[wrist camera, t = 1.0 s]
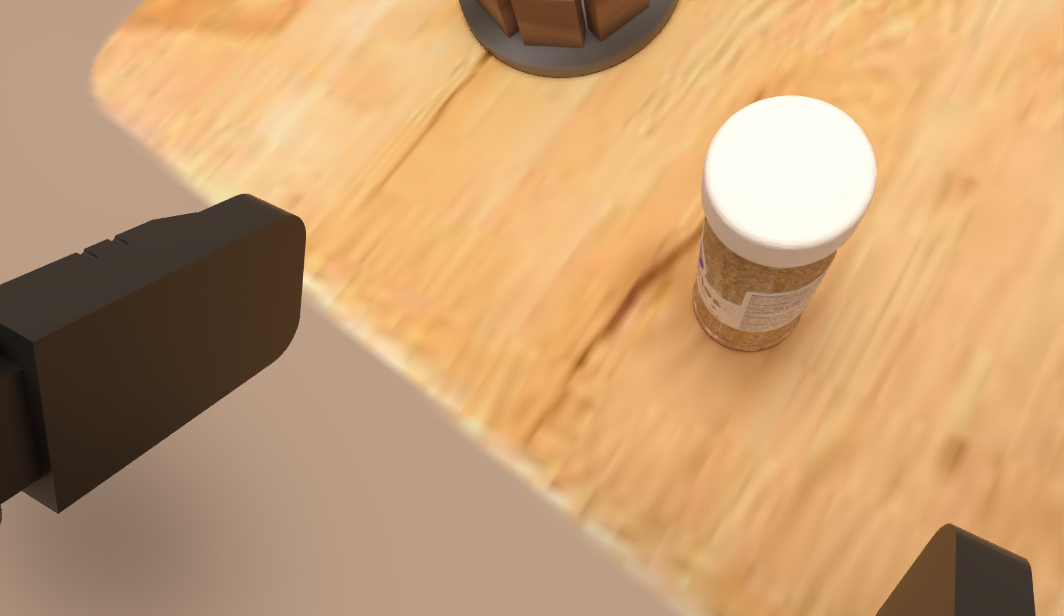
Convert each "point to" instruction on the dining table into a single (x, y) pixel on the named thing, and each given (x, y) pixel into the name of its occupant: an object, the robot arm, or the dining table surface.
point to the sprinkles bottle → (776, 214)
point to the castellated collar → (565, 32)
